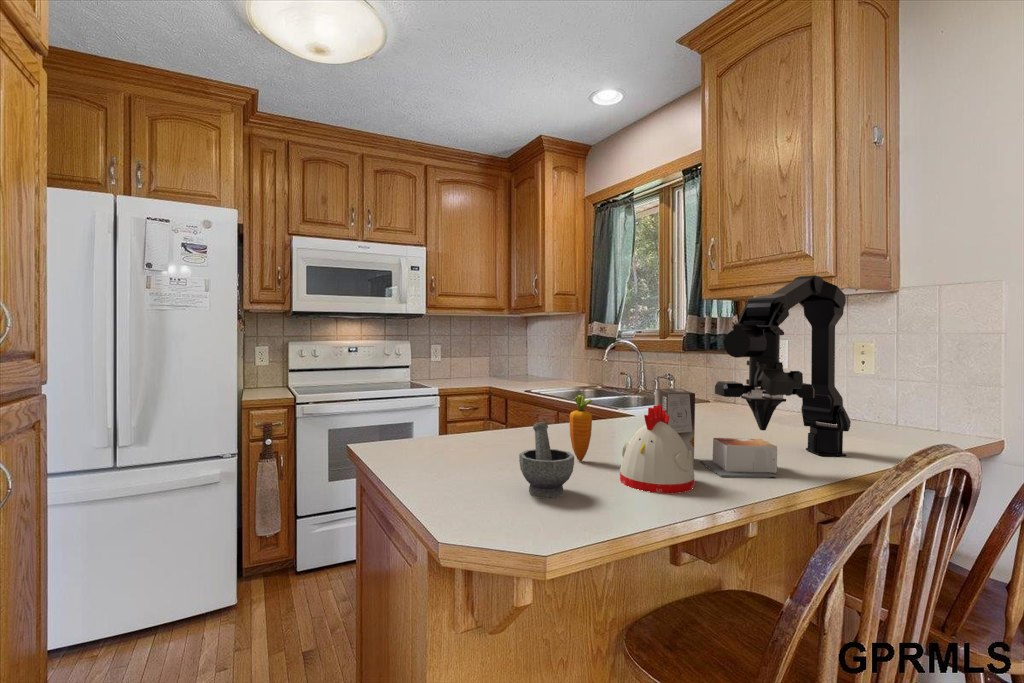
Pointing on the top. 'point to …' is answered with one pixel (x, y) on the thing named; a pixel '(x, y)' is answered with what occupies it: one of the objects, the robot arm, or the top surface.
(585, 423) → the carrot
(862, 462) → the top surface
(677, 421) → the coffee box
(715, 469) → the mat
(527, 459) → the mortar and pestle
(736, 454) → the small box
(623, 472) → the kitchen timer
